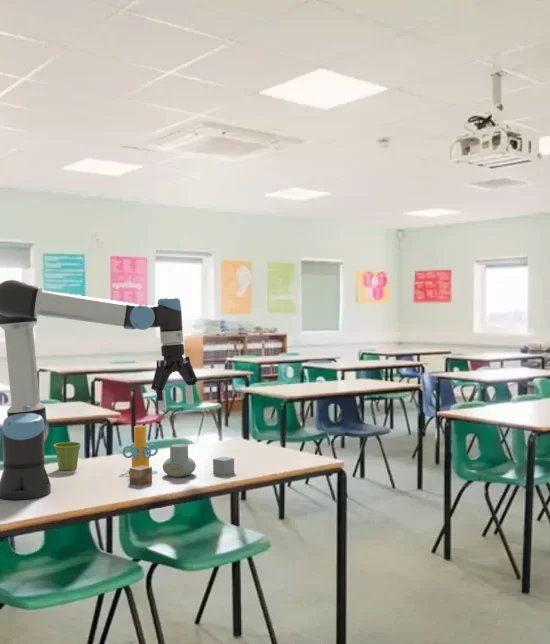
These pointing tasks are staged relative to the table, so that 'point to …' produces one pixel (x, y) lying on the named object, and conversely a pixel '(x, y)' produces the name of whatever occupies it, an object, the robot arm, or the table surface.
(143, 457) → the cylinder
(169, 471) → the air freshener
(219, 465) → the grey block
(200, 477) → the table surface
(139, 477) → the walnut block
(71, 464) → the plant pot
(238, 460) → the table surface
